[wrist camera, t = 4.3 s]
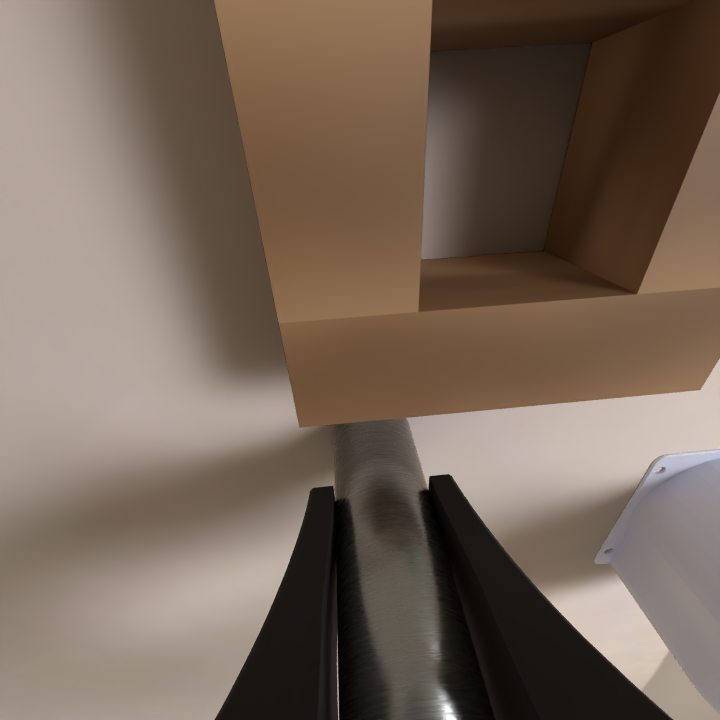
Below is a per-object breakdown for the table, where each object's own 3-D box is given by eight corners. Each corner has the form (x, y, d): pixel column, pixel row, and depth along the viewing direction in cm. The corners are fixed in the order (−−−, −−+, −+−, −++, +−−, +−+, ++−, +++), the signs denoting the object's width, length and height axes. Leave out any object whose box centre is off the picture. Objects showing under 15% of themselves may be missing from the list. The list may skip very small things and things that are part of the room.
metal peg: (408, 457, 14) (504, 822, 6) (337, 465, 14) (347, 844, 6) (411, 402, 12) (541, 799, 5) (330, 409, 12) (333, 829, 5)
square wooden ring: (602, 327, 11) (700, 389, 8) (307, 352, 11) (299, 427, 8) (789, -172, 6) (1235, -483, 3) (226, -158, 6) (113, -501, 3)
